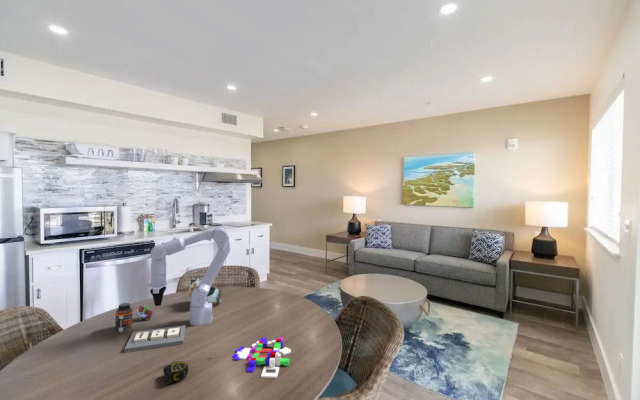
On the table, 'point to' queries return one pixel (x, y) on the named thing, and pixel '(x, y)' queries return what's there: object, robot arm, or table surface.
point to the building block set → (264, 356)
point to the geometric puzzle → (144, 312)
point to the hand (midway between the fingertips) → (158, 305)
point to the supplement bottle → (123, 317)
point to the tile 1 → (157, 335)
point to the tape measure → (175, 371)
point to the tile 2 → (173, 333)
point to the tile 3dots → (141, 337)
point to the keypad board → (155, 343)
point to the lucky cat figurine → (212, 295)
